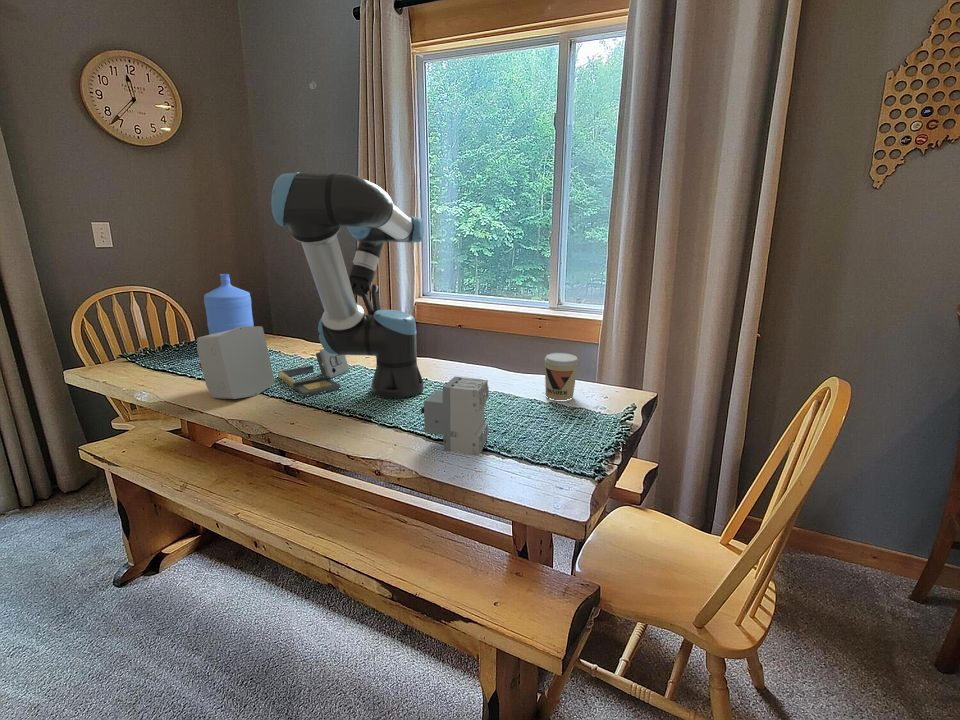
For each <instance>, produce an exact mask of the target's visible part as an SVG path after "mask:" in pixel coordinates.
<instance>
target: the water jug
mask: <svg viewBox="0 0 960 720" xmlns="http://www.w3.org/2000/svg"><path fill="white" fill-rule="evenodd" d="M219 276H220V279H219V280H220V283H221V284H220V285H219V287H216V288H214V289H212V290H211V291H209V292H207V293H205V294H204V295H203V303H204V308H205V313H206V320H207V329H208V333H209V334H208V335H211V334H215V333H220V332H224V331H228V330H233V329H235V328H237V327H243V326H255V325H254V318H253V317H254V316H253V310H252V309H253V308H252V297H251V293H250V291H246V290H244V289H241V288H238V287H237V286H234V285H232V284H231V278H230V274H229V273H221V274H219Z"/></svg>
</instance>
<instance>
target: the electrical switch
mask: <svg viewBox="0 0 960 720" xmlns="http://www.w3.org/2000/svg"><path fill="white" fill-rule="evenodd" d="M315 357H316V360H317V363H318V366H319V369H320V374H321V377H322V376H330V379H332V378H334V377H337V376H340V375H343V374H345V373H347V372H349V371H350V366H349V363H348V361H347V358H346V355H338V354H331V353H328V352H327V351H326V350H325V349H324V348H323V349H320V350H319V352H316V353H315Z"/></svg>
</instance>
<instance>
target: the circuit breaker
mask: <svg viewBox="0 0 960 720" xmlns="http://www.w3.org/2000/svg"><path fill="white" fill-rule="evenodd" d="M488 381H489V380H488V379H482V378H475V377H474V378H473V377H467V376H465V377H464V376H454V377H453V378H451V379H450V380H449V381H448V382H446V383H445V384H444V385H443V386H442V389H436V390H434V392H433V393H431V394H430V395H429V396H428V397H427V398H426V399H425V400H424V401H423V407H421V409H420V410H421V412H420V414H422V415H423V416H424V417H423V420H424V421H423V422H424V423H423V425H424V428H423V429H424V433H425V434H426V433H428V434H434V435H439V436H440V435H441V436H442V437H443V438H442V440H443V442H442V444H443V445H442V446H443V447H442V449H443V451H446V452H451V453H452V452H453V453H459V454H464V455H465V454H466V455H472V456H473V455H476V456H479V455H480V454H481V453H482V451H483V449H484V448H483V445H484V442H486V440H488V437H489V423H488V422H486V421H485V407H486V406H485V405H486V404H487V400H488V399H489V397H490V396H489V395H490V393H489V391H490V390H489V386H488Z"/></svg>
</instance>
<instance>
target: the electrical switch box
mask: <svg viewBox="0 0 960 720" xmlns="http://www.w3.org/2000/svg"><path fill="white" fill-rule="evenodd" d="M196 346H197V348H196V349H197V350H196V351H197V353H198V354H197V355H198V360H199V361H200V363H199V369H201V370H202V373H203V374H202V375H203V379H204V382H205V386H206V389H207V390H208V393H209V395H210V396H211V398H212V399H223V400H224V399H229V400H236V399H243V398H244V399H245V398H250V397H255V396H258V395H259V394H261V393H262V392H264V391H266V390H268V389H269V388H270V387H272V386H274V385H275V383H276V380H275V376H274V373H273V368H272V363H271V358H270V354H269V349H268V345H267V340H266V335H265V331H264V327H263V326H262V325H261V326H259V325H258V326H257V325H256V326H255V325H254V326H243V327H237V328H235V329H233V330H228V331H224V332H220V333H215V334H211V335H209V334H208V335H204V336H199V337H197V339H196Z"/></svg>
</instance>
